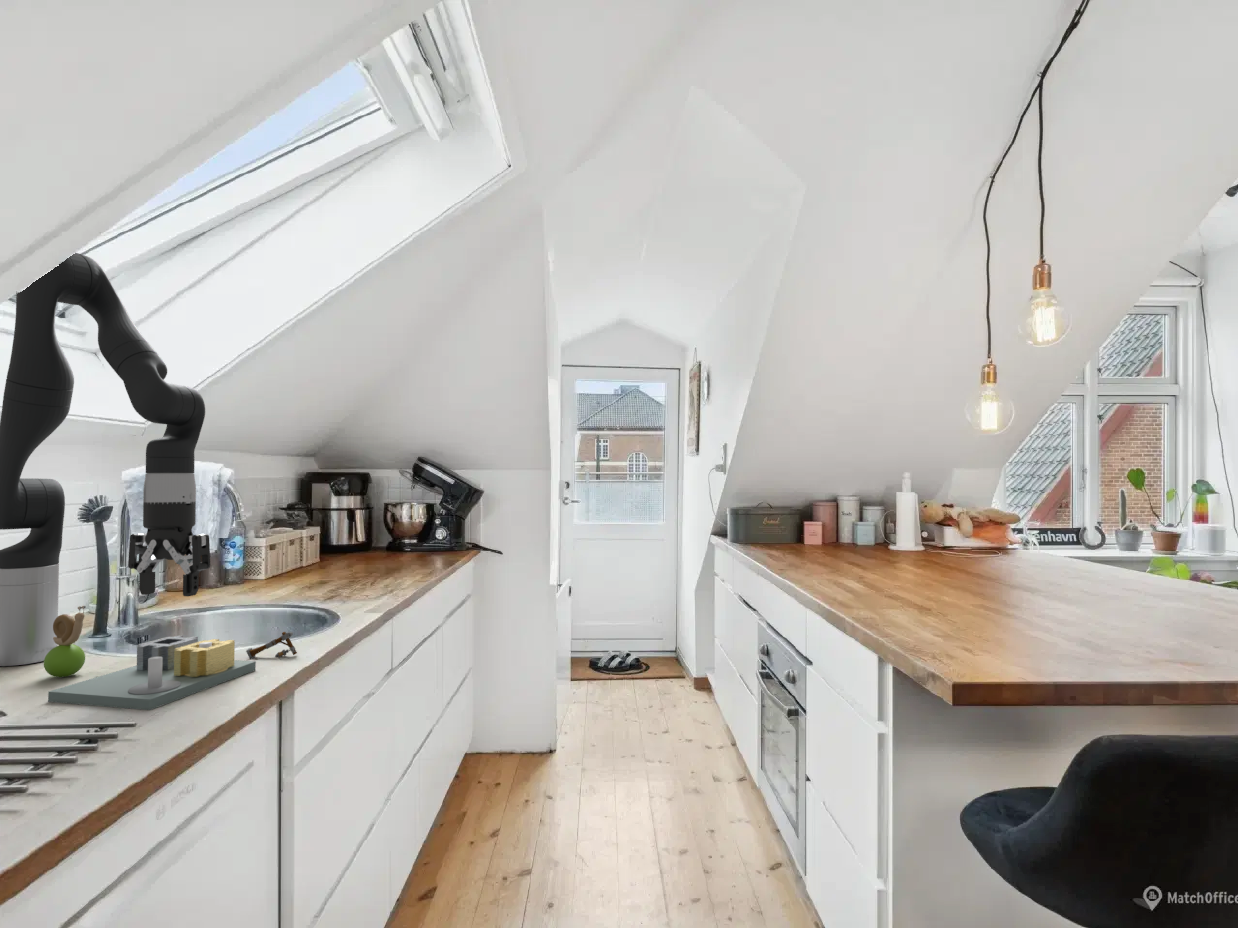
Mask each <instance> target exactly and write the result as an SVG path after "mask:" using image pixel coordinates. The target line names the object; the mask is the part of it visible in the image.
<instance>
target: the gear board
mask: <svg viewBox="0 0 1238 928" xmlns="http://www.w3.org/2000/svg"><path fill="white" fill-rule="evenodd" d="M211 646H212V642H204V643H200V644H199V648H208V647H211ZM162 659H163V657H152V658H149V659H148V670H144V671H137V664H136V665H132V666H130V667H126V668H124V669H119V670H116V671H112V672H110V673H106V674H102V675H99V676H96V677H92V678H89V679H86V680H82V681H79V682H76V683H72V684H70V685H66V686H62V687H59V688H56V689H53V690H49V691H48V692H47V697H48V699H47V702H49V703H59V704H74V705H82V706H83V705H85V706H94V707H95V706H97V707H107V708H108V707H109V708H120V709H122V708H123V709H131V710H132V709H134V710H145V711H146V710H147V711H151V710H154V709H156V708H158V707H161V706H164V705H167V704H169V703H172V702H175V701H177V700H180V699H182V698H185V697H188V696H191V695H193V694H195V693H199V692H201V691H204V690H206V689H209V688H212V687H215V686H217V685H220V684H223V683H225V682H228V681H230V680H233V679H236V678H239V677H241V676H244V675H246V674H248V673H249V674H250V673H251V672H254V671H256V661H253V660H238V659H237V660H236V659H234V666H232V667H229V668H226V669H224V670H221V671H218V672H215V673H212V674H209V675H207V676H204V675H201V676H198V677H190V675H189V674H185V675H182V676H174V669H172V670H169V671H164V670H163V671H162Z"/></svg>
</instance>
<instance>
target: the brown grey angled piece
mask: <svg viewBox="0 0 1238 928" xmlns="http://www.w3.org/2000/svg"><path fill="white" fill-rule="evenodd" d="M293 635H294V632H292V631H288V632H286V631H283V632H281V636H280V637H277V638H275V639H272V640H271V641H269V642H267V643H265V644H264V645H260V646H259V647H256V648H252V647H249V648H248V649H246V650H245V653H246V655H247V656H248V658H249V660H253V659H254V658H255V657H256V655H257V654H259V653H262V652H263V651H265V650H268V649H270V648H272V647H274V646H277V645H278V644H279V643H280V644H283V645H284V646H288V648H289V649H282V650H281V651H278V652H277V653H276V654H275V658H281V657H285V656H287V654H289V653H290V652H291V654H292V655H293V656H295V655H297V654H298V651H297V650H296V647H295V646H294V645H293V642H292V640H291V639H290V638H291V637H292V636H293ZM284 641H286V642H284Z"/></svg>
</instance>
